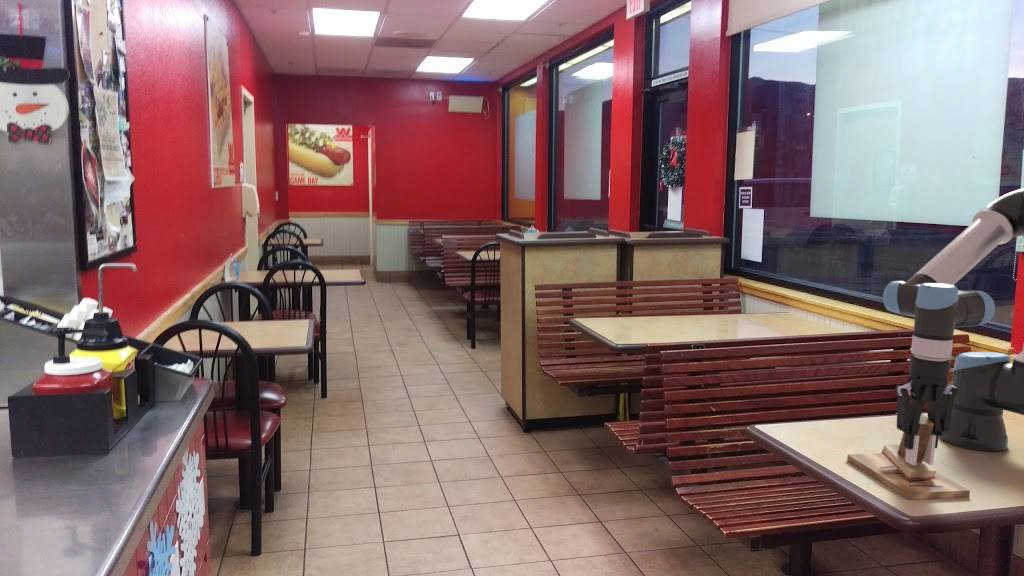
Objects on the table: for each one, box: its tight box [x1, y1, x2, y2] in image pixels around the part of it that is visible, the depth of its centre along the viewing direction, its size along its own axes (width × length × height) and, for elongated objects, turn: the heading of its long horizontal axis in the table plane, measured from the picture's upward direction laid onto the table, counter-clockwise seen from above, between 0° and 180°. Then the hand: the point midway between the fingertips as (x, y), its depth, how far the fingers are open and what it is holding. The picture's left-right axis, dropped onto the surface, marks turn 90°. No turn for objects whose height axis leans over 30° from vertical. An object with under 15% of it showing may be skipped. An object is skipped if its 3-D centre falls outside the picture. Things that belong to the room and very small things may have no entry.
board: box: [846, 452, 971, 501], centre depth 171 cm, size 14×22×2 cm, turn 9°
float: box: [880, 413, 937, 480], centre depth 168 cm, size 6×10×12 cm, turn 8°
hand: (918, 462), depth 167 cm, fingers closed on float, 3 cm apart
